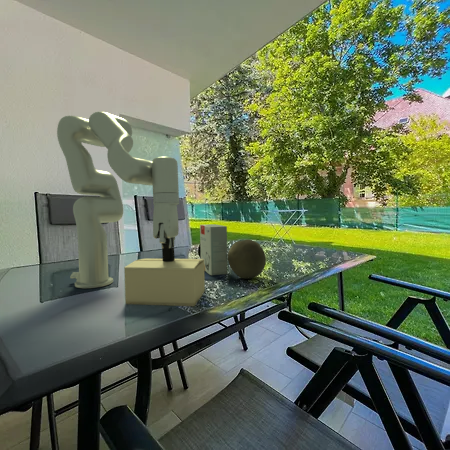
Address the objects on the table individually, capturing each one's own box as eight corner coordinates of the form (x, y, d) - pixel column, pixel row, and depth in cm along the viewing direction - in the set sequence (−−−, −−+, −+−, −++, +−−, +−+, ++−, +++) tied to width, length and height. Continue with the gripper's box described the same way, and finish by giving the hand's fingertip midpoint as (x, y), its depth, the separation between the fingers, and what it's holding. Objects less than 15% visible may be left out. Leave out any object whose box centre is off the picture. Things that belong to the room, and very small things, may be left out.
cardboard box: (125, 304, 77) (124, 269, 76) (146, 289, 91) (145, 260, 90) (194, 306, 74) (193, 270, 74) (204, 291, 88) (204, 260, 88)
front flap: (124, 269, 76) (124, 267, 76) (135, 262, 83) (135, 260, 83) (193, 270, 74) (193, 268, 74) (199, 262, 80) (199, 261, 80)
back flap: (135, 261, 83) (135, 260, 83) (145, 260, 90) (145, 258, 90) (199, 262, 81) (199, 260, 81) (204, 260, 88) (204, 259, 88)
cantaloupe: (234, 273, 112) (233, 237, 111) (268, 275, 107) (268, 238, 107) (223, 282, 98) (222, 241, 97) (262, 285, 94) (261, 242, 93)
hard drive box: (200, 268, 123) (199, 224, 122) (216, 266, 126) (215, 224, 125) (210, 275, 109) (209, 226, 108) (228, 274, 112) (227, 225, 111)
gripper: (162, 201, 88) (165, 257, 89) (143, 199, 74) (146, 266, 74) (185, 200, 88) (187, 256, 88) (170, 198, 73) (172, 265, 74)
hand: (168, 260), depth 81 cm, fingers closed
